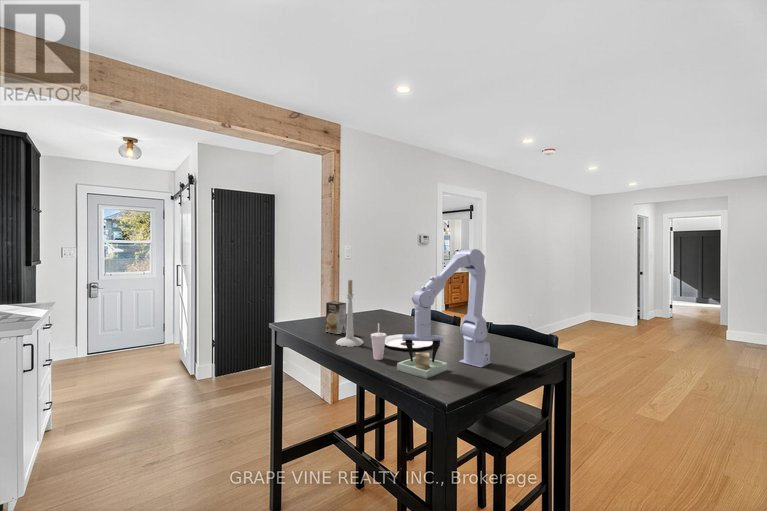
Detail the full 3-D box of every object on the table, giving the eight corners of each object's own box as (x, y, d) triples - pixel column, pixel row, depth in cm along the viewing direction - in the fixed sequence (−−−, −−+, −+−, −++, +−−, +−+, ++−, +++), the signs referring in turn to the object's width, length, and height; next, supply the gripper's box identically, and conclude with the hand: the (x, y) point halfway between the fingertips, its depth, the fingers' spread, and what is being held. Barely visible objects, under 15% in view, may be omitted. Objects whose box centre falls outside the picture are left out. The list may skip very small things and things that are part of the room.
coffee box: (325, 333, 186) (325, 302, 186) (333, 330, 191) (333, 301, 191) (338, 335, 181) (338, 303, 181) (346, 333, 186) (346, 302, 186)
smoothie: (386, 356, 145) (386, 322, 145) (386, 360, 139) (387, 325, 138) (370, 356, 145) (370, 322, 145) (370, 360, 138) (370, 325, 138)
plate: (441, 342, 170) (441, 338, 170) (422, 355, 148) (422, 350, 148) (395, 335, 182) (395, 332, 182) (370, 347, 160) (370, 343, 160)
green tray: (447, 369, 128) (447, 362, 128) (426, 378, 119) (426, 371, 119) (418, 362, 137) (418, 355, 137) (396, 370, 128) (397, 363, 128)
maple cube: (429, 366, 130) (429, 352, 130) (429, 370, 126) (429, 356, 125) (415, 365, 131) (415, 352, 131) (415, 370, 126) (415, 356, 126)
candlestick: (331, 342, 167) (331, 278, 167) (355, 338, 174) (355, 277, 174) (343, 348, 156) (344, 280, 156) (368, 344, 163) (369, 279, 163)
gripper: (442, 322, 131) (441, 358, 131) (403, 320, 133) (402, 357, 133) (443, 325, 124) (443, 364, 124) (402, 324, 126) (401, 362, 126)
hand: (422, 361), depth 128 cm, fingers open, 7 cm apart
